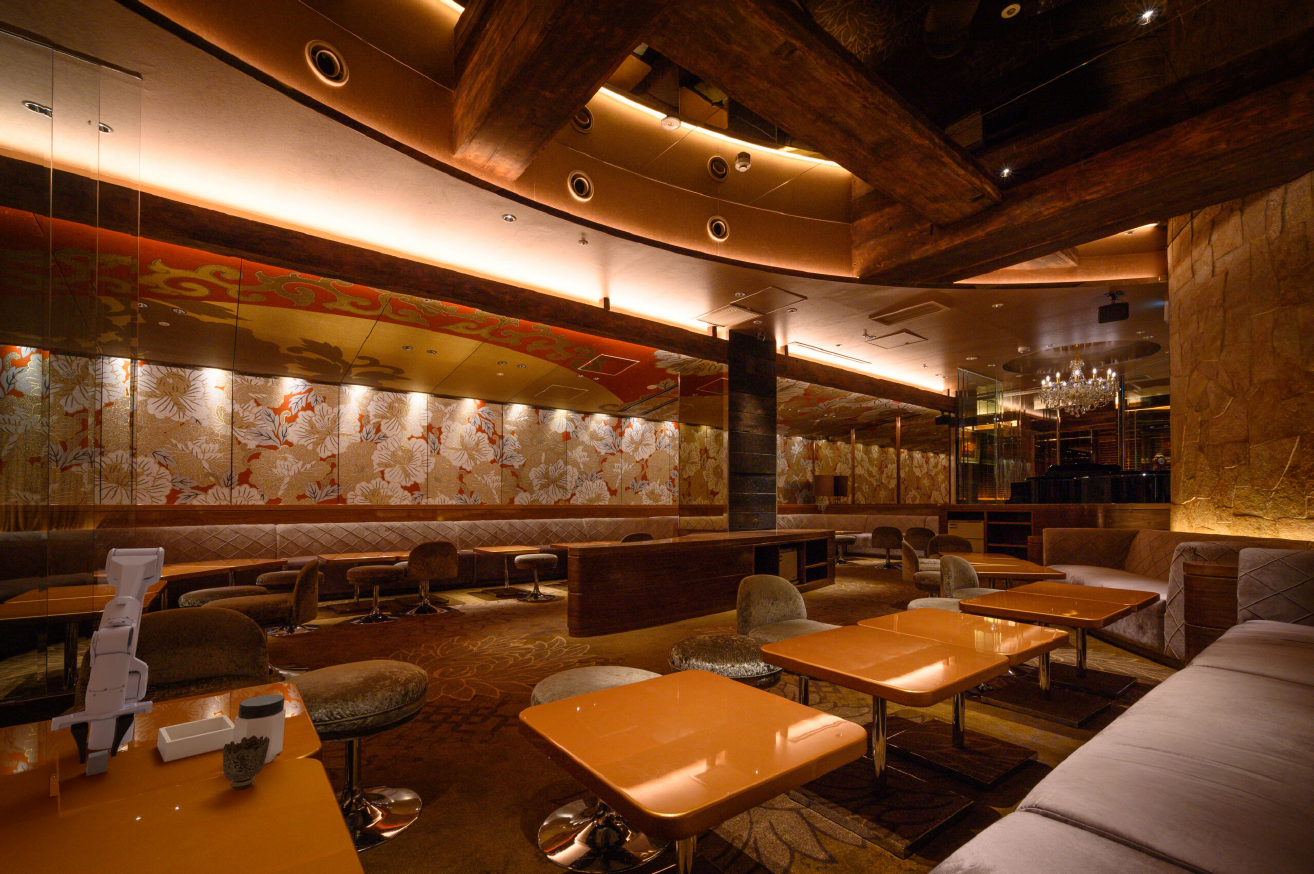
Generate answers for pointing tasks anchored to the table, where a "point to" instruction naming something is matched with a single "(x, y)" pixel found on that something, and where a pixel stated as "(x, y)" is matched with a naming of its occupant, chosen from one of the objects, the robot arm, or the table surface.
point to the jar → (262, 722)
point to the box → (195, 737)
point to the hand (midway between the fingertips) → (97, 758)
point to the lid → (96, 763)
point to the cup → (244, 760)
